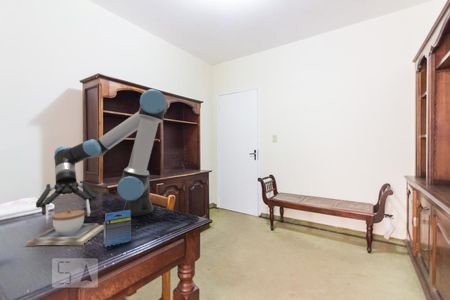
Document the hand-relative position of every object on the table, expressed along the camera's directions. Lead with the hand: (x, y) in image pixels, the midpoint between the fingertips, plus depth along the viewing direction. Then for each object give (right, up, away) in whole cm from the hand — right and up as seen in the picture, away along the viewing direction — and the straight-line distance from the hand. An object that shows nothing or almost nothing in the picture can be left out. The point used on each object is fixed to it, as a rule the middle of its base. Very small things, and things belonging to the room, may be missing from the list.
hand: (69, 217), depth 90 cm
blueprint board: (-1, -8, +2) cm, 8 cm away
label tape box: (+21, -9, -4) cm, 23 cm away
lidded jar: (-1, -7, +2) cm, 7 cm away
